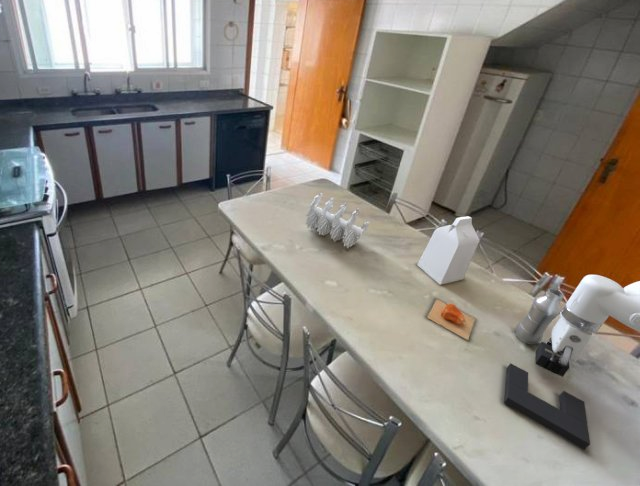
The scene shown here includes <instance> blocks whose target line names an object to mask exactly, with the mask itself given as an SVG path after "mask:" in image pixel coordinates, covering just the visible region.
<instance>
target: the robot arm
mask: <svg viewBox="0 0 640 486" xmlns="http://www.w3.org/2000/svg"><path fill="white" fill-rule="evenodd" d="M559 315H560V317H559V319H558V320H557V321H556V323H555V324H554V326H553V328H552V329H551V333H550V334H551V337H550V338H549V339H548V341H547V342H546V344H548V345H550V346H552V349H553V351H554V352H553V354H552V356H551V358H550V357H549V358H548V359H547V360H546V362H545V363H544V365H543V367H542V369H544V370H546V371H548V372H549V373H552V374H554V375H557V374H558V373H559V371H560V370H561V369H562V367H564V365H567V363H568V360H569V361H572V362H574V363H575V362H577V361H578V360H579V358H581V356H582V353H583V352H584V350H585V349H586V348H587V346H588V344H589V342H590V340H591V337H592V335H593V334H596V333H597V332H598V331H599V330H600V329H601V328H602V326H603V325H604V323H606V321H607V319H609V317H611V318H613V319H614V320H615V321H618V322H620V323H621V324H623V325H624V326H626V327H628V328H630V329H632V330H634V331H636V332H639V333H640V280H639V281H636V282H635V281H634V282H633V283H630V284H628V285H626V286H624V287H623V286H622V285H621V284H619V283H618V282H616V281H614V280H613V279H610V278H608V277H606V276H602V275H599V274H587V275H585V276H583V278H582V279H581V280H580V282H579V283H578V285H577V287H576V288H575V289H574V291H573V292H572V294H571V296H570V297H569V298H568V299H567V302H566V303H565V304H564V306H563V307H562V308H561V312H560V314H559ZM559 351H563V352H562V353H561V352H559ZM557 354H558V355H560V356H561V357H560V358H555V357H556V355H557Z"/></svg>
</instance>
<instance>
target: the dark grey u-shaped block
mask: <svg viewBox="0 0 640 486" xmlns="http://www.w3.org/2000/svg"><path fill="white" fill-rule="evenodd" d="M505 372H506V373H505V381H504V382H505V383H504V394H503V395H504V396H503V404H505V405H506V406H508V407H510V408H512V409H513V410H515V411H516V412H518V413H521V414H522V415H523V416H525V417H527V418H529V419H530V420H532V421H534V422H536V423H537V424H539V425H541V426H543V427H544V428H546V429H548V430H550V431H551V432H553V433H555V434H557V435H558V436H560V437H561V438H563V439H565V440H566V441H568V442H570V443H572V444H573V445H576V446H577V447H579V448H581V449H582V450H586V449H587V448H589V446H590V445H591V440H590V433H589V426H588V417H587V411H586V404H585V401H584V400H583V399H580V398H579V397H577V396H574V395H573V394H571V393H569V392H567V391H566V390H563V391H562V392H561V393H560V394H559V395H558V402H559V408H558V407H556V406H554V404H553V405H552V404H551V403H549V402H547V401H545V400H544V399H542V398H541V397H538V396H536V395H534V394H532V393H531V392H529V372H528V371H526V370H524V369H522V368H521V367H519V366H517V365H515V364H513V363H511V362H510V363H509V364H508V366H507V367H506V371H505Z"/></svg>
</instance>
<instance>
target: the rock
mask: <svg viewBox="0 0 640 486" xmlns="http://www.w3.org/2000/svg"><path fill="white" fill-rule="evenodd" d="M426 318H427V319H429V320H430V321H432V322H434V323H436V324H438V325H439V326H442V327H443V328H445V329H447V330H448V331H451V333H454V334H456V335H457V336H459V337H461V338H462V339H465V340H466V341H469V339H470V336H471V333H472V330H473V327H474V325H475V323H476V318H474V317H472V316H470V315H468V314H467V313H464V312H463V311H461V310H460V309H459V308H458V307H457V306H456V305H455V304H454V303H451V302H447V303H445V302H443V301H441V300H439V299H437V298H436V299H435V301H434V304H433V306H432V307H431V309H430V310H429V313H428V314H427V316H426Z"/></svg>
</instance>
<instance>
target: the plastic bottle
mask: <svg viewBox="0 0 640 486" xmlns="http://www.w3.org/2000/svg"><path fill="white" fill-rule="evenodd" d="M564 297H565V294H564V293H563V292H562V291H560V290H559V289H556V288H552V287H550V288H548V290H546V292H545V293H544V294H542V295H538V296H536V297H535V298H534V299H533V300H532V303H531V307H530V309H529V311H528V312H527V314H526V316H525V317H524V318H523V319H522V320H521V321H520V322H519V323H518V324H516V325H515V328H514V333H515V335H516V337H517V338H518V339H520V340H521V341H522V342H524V343H526V344H529V345H536V344H538V343H540V342H541V341H542V338H543V336H544V333H545V331H546V329H547V328H548V326H549V325H550V324H551V323H552V321H554V319H556V318H557V317H558V316H559V315H560V312H561V310H562V306H561V305H562V304H561V302H562V301H563V299H564Z"/></svg>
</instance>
